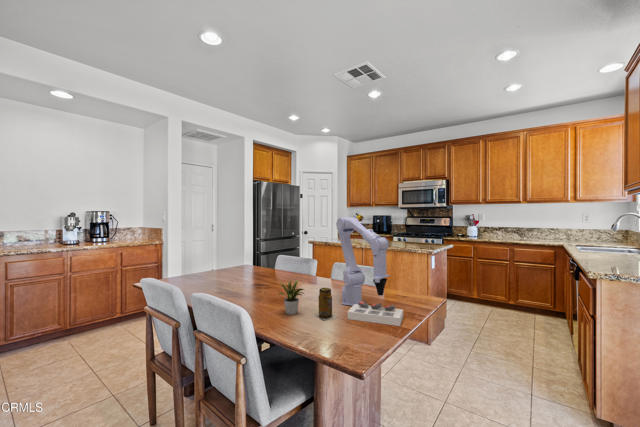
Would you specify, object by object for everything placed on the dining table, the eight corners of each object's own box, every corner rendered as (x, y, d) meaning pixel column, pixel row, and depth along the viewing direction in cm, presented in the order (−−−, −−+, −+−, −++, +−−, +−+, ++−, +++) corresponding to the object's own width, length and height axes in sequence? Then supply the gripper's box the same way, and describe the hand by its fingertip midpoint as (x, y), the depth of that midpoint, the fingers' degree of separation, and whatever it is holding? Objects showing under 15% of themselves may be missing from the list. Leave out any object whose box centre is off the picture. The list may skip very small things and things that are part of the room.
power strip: (347, 319, 124) (347, 311, 124) (357, 308, 138) (356, 300, 138) (399, 326, 116) (399, 317, 116) (404, 313, 130) (404, 306, 130)
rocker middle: (371, 309, 127) (371, 306, 127) (373, 307, 129) (372, 304, 129) (380, 308, 125) (379, 305, 125) (381, 306, 128) (381, 303, 128)
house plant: (278, 321, 123) (277, 283, 123) (270, 311, 136) (269, 276, 135) (309, 316, 129) (308, 279, 128) (299, 306, 141) (298, 273, 141)
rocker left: (358, 306, 129) (358, 302, 129) (359, 304, 132) (360, 301, 132) (366, 308, 128) (367, 305, 127) (368, 306, 130) (368, 303, 130)
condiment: (328, 312, 134) (328, 286, 133) (337, 317, 126) (337, 290, 126) (314, 314, 130) (314, 288, 130) (323, 320, 123) (322, 292, 123)
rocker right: (385, 311, 124) (384, 307, 124) (386, 309, 127) (385, 305, 127) (394, 310, 123) (393, 306, 123) (395, 308, 125) (394, 304, 126)
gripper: (386, 268, 120) (386, 300, 120) (391, 262, 134) (392, 291, 134) (369, 267, 123) (370, 298, 123) (376, 261, 137) (376, 290, 137)
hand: (380, 295), depth 129 cm, fingers closed
